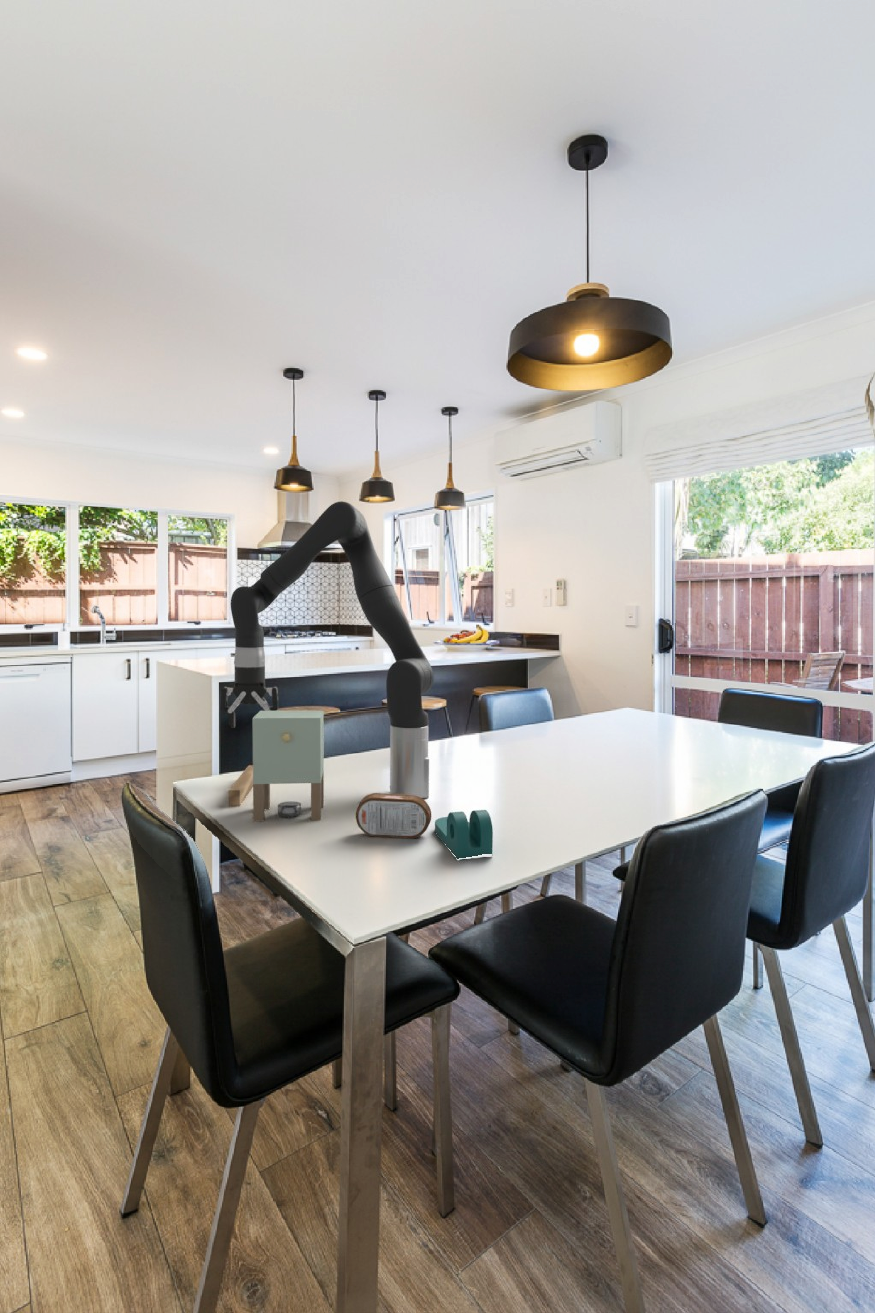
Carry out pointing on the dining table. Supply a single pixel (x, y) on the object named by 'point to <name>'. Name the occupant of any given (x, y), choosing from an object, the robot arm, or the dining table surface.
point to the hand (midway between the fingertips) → (250, 727)
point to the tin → (393, 815)
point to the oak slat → (241, 787)
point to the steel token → (289, 809)
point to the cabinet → (288, 756)
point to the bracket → (466, 833)
